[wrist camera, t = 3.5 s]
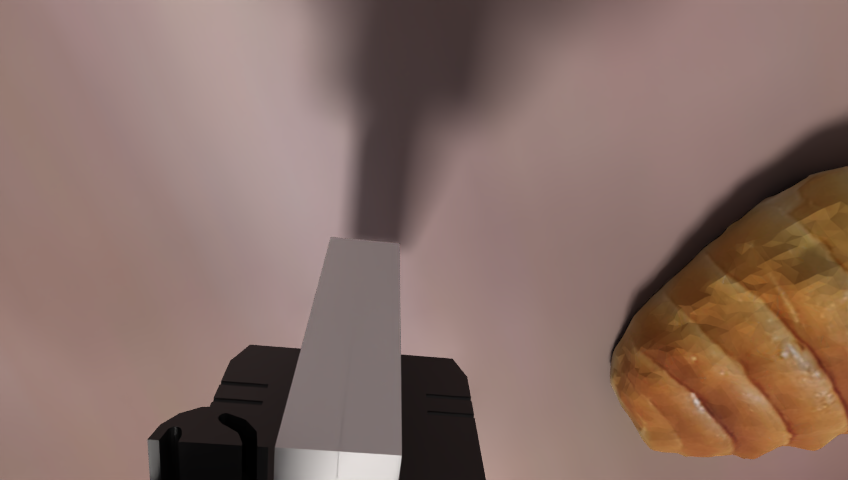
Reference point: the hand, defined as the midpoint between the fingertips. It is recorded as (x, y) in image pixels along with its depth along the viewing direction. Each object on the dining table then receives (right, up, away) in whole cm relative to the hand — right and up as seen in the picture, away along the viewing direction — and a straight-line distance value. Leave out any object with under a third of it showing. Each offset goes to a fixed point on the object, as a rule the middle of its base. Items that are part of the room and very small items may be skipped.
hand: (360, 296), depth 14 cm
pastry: (+12, 0, +3) cm, 12 cm away
